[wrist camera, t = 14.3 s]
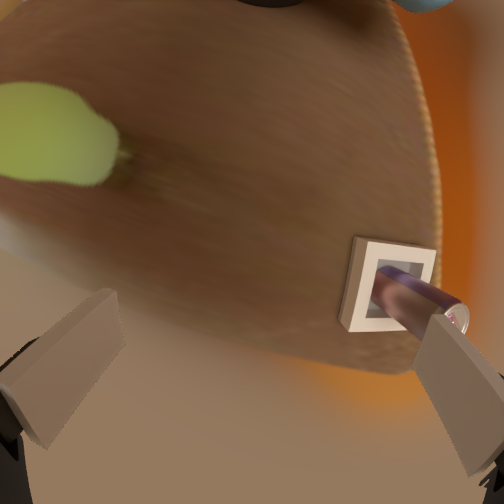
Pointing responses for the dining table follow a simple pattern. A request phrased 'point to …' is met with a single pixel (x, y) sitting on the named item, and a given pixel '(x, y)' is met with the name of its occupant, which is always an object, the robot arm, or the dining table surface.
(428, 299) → the beverage can
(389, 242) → the holder
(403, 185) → the dining table surface
